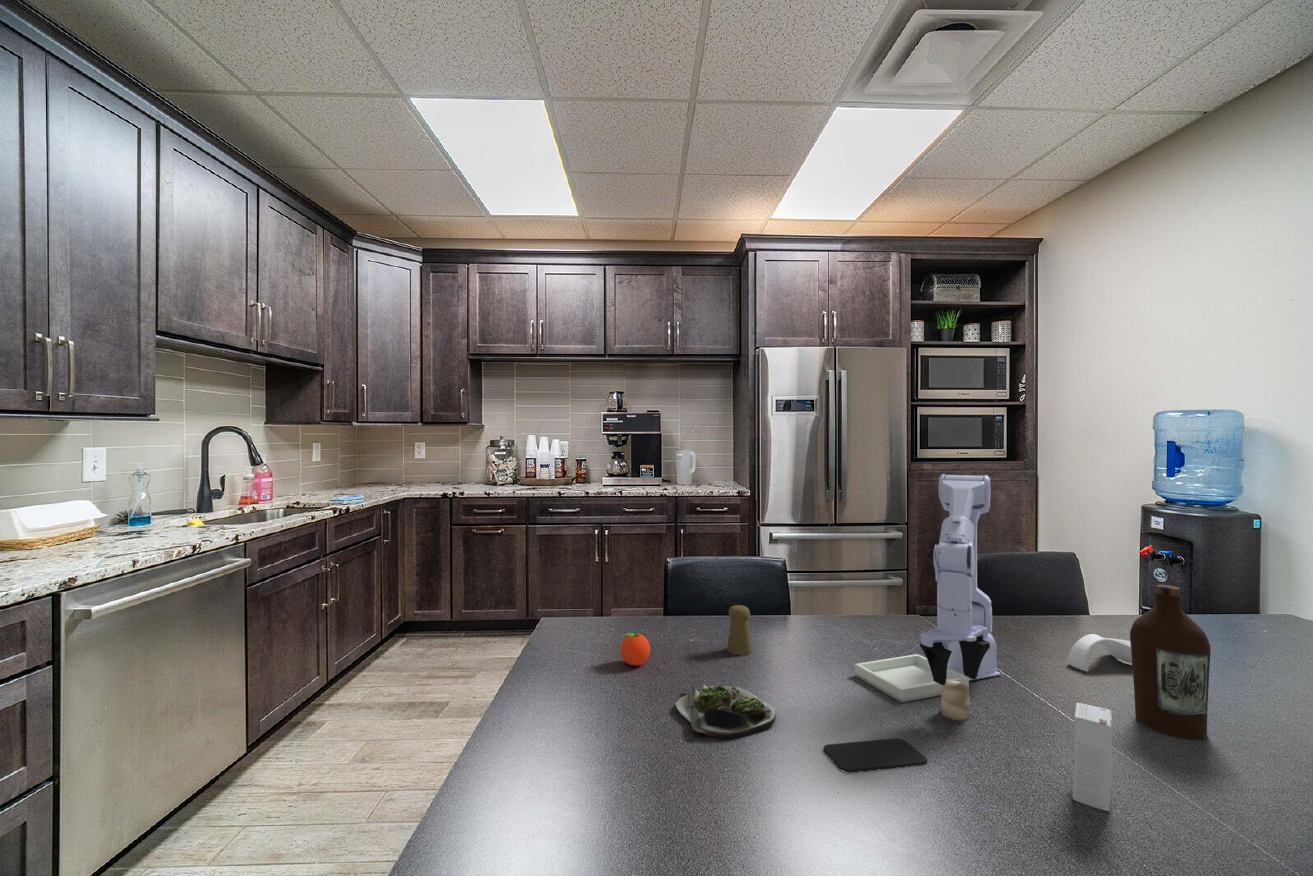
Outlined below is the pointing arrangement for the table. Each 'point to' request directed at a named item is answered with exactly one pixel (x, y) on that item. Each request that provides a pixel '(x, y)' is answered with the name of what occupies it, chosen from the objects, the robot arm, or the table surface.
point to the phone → (874, 755)
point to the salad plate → (725, 711)
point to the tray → (904, 677)
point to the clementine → (635, 649)
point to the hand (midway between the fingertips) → (954, 680)
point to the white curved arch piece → (1086, 643)
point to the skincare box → (1092, 756)
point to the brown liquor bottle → (1170, 668)
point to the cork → (739, 631)
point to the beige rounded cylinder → (955, 700)
